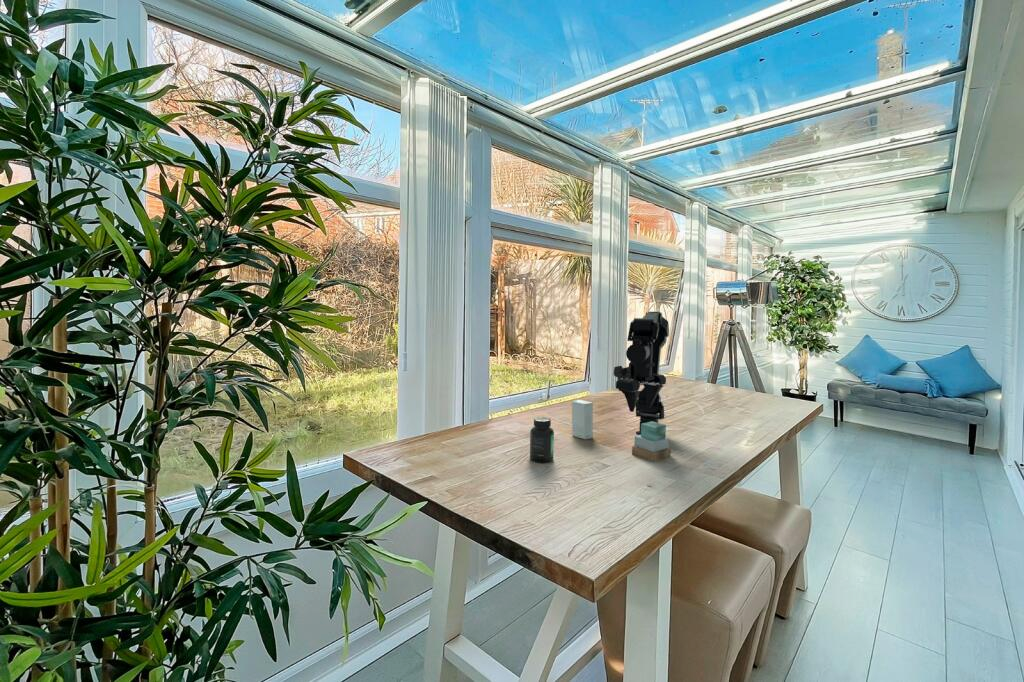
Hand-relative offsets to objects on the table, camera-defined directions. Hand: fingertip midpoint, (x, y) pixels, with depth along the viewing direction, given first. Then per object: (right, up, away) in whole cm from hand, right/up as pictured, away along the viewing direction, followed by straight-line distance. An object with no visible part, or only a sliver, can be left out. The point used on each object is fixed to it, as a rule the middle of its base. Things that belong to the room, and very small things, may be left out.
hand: (640, 409), depth 142 cm
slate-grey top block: (+2, -11, -4) cm, 12 cm away
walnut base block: (+2, -14, -4) cm, 14 cm away
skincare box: (-16, -12, +13) cm, 24 cm away
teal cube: (+2, -8, -5) cm, 10 cm away
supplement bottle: (-31, -13, -9) cm, 35 cm away
